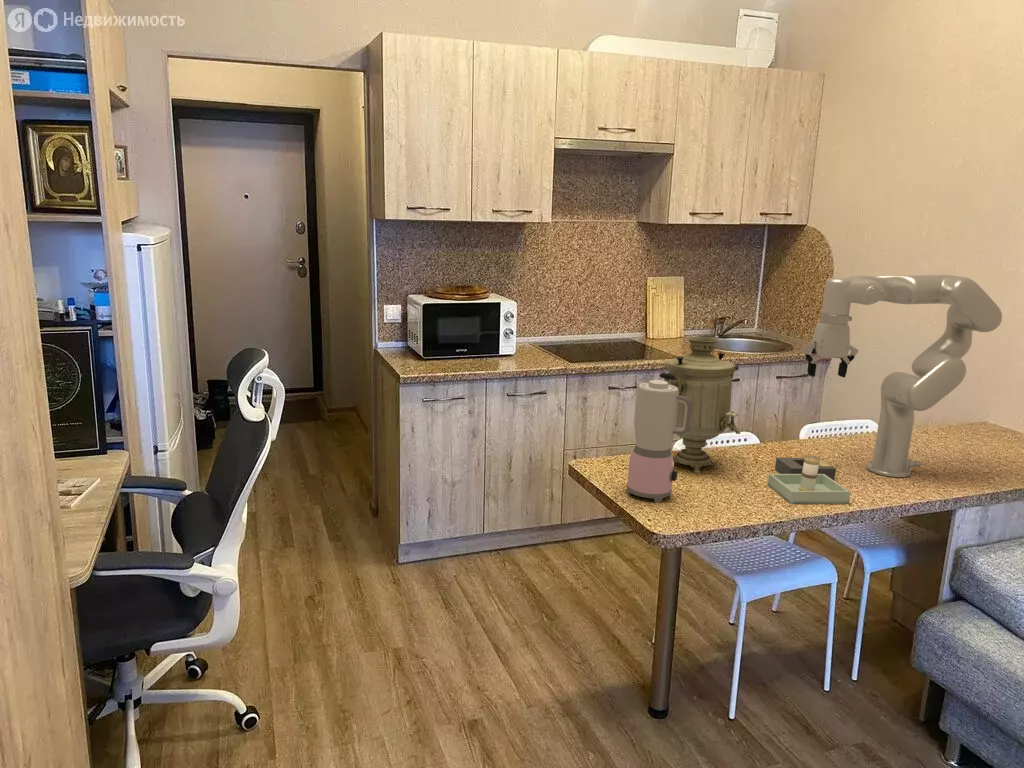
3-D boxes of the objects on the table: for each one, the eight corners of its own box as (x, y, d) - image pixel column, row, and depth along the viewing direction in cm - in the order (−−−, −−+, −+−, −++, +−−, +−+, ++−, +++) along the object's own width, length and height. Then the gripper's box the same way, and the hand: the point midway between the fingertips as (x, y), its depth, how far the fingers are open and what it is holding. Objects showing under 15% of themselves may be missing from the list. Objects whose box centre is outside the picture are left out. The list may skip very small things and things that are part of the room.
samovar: (680, 488, 209) (693, 350, 200) (632, 459, 233) (642, 334, 224) (763, 478, 220) (780, 347, 211) (709, 451, 244) (722, 332, 235)
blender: (619, 496, 202) (628, 382, 194) (634, 482, 212) (643, 374, 205) (675, 509, 194) (686, 391, 187) (688, 494, 205) (699, 383, 197)
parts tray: (822, 485, 217) (824, 474, 216) (848, 503, 203) (850, 491, 202) (767, 485, 215) (769, 473, 214) (790, 503, 201) (791, 491, 200)
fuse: (808, 488, 211) (814, 455, 209) (817, 493, 207) (823, 460, 205) (796, 488, 210) (801, 455, 208) (804, 493, 206) (810, 460, 204)
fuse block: (817, 469, 230) (819, 457, 229) (834, 481, 220) (836, 467, 220) (774, 469, 229) (776, 456, 228) (789, 481, 219) (791, 467, 218)
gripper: (854, 318, 223) (846, 373, 227) (800, 317, 221) (793, 373, 225) (868, 322, 215) (860, 379, 219) (813, 321, 214) (805, 378, 217)
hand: (826, 376), depth 222 cm, fingers open, 9 cm apart
